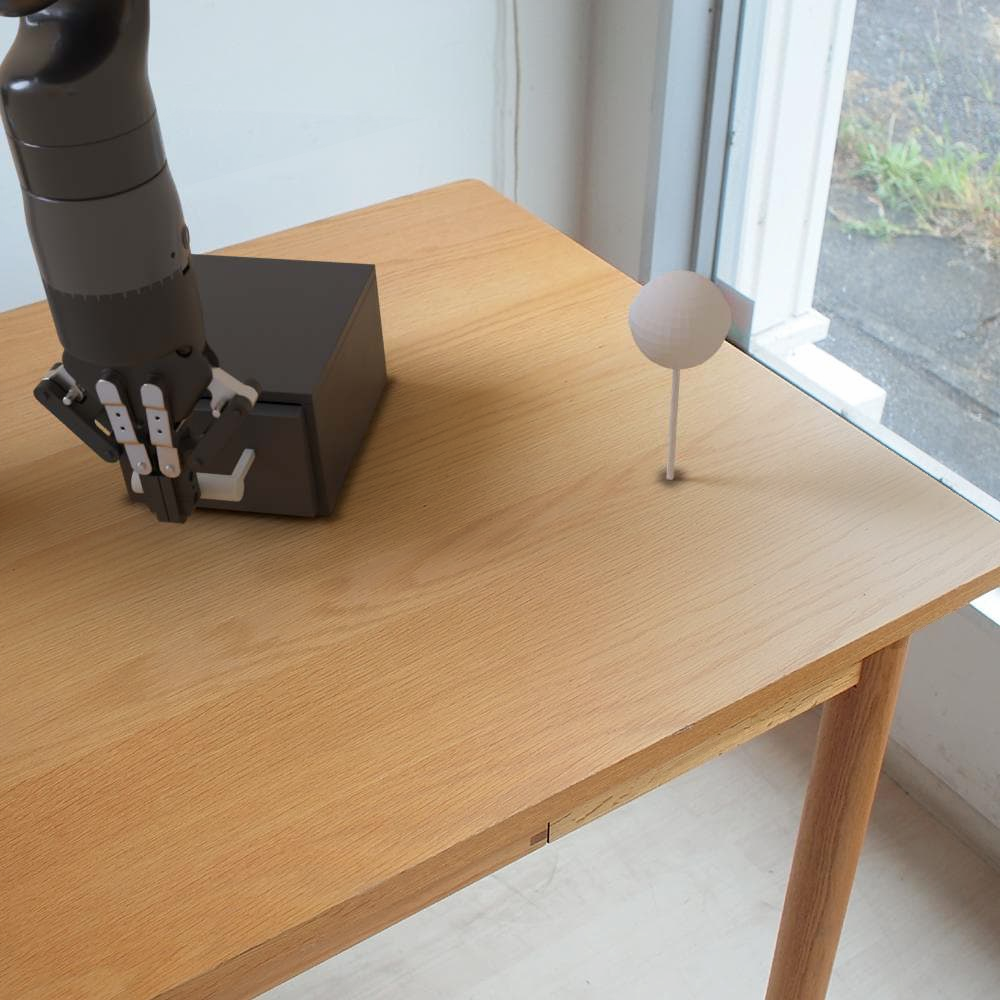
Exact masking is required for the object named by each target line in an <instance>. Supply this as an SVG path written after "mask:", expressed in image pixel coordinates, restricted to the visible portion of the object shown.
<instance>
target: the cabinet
mask: <svg viewBox="0 0 1000 1000" xmlns="http://www.w3.org/2000/svg"><path fill="white" fill-rule="evenodd" d="M191 255H192V260H193V264H194V269H195V274H196V279H197V284H198V289H199V294H200V299H201V304H202V309H203V315H204V328H205V335H206V338H207V340H208V342H209V343H210V345H211V346H212V347H213V349H214V350H215V351H216V353H217V355H218V357H219V362H220V365H219V368H220V369H222V370H223V371H225V372H226V373H228V374H229V375H231V376H232V377H234V378H235V379H237V380H238V381H240V382H242V381H243V380H244V379H246V378H253V379H255V380H257V381H258V382H259V383H260V384H261V386H262V392H261V394H260V396H259V398H258V400H257V401H269V402H283V403H296V404H301V406H303V407H304V412H305V418H306V425H307V431H308V437H309V443H310V450H311V456H312V462H313V468H314V475H315V481H316V487H317V493H318V500H319V508H318V510H317V512H316V514H315V516H321V517H331V516H332V513H333V511H334V508H335V506H336V503H337V501H338V499H339V496H340V494H341V492H342V489H343V487H344V485H345V482H346V480H347V478H348V476H349V473H350V470H351V468H352V465H353V463H354V461H355V458H356V456H357V454H358V451H359V449H360V446H361V445H362V441H363V440H364V437H365V434H366V432H367V429H368V428H369V425H370V422H371V421H372V418H373V415H374V413H375V411H376V409H377V406H378V403H379V401H380V398H381V396H382V393H383V391H384V390H385V386H386V384H387V382H388V372H387V371H388V370H387V362H386V353H385V351H386V350H385V343H384V335H383V325H382V324H383V323H382V316H381V307H380V298H379V289H378V288H379V287H378V278H377V271H376V264H374V263H360V262H343V261H323V260H305V259H287V258H271V257H270V258H269V257H253V256H252V257H251V256H236V255H235V256H234V255H219V254H217V255H216V254H200V253H199V254H198V253H191ZM202 397H212V394H211V392H210V391H209V389H206V391H205V392H204V394H203V395H202Z"/></svg>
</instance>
